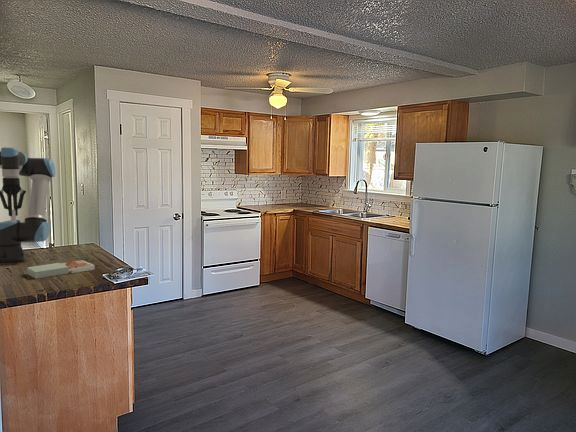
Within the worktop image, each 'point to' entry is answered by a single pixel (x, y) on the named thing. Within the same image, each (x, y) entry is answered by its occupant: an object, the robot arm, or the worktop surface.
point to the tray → (81, 268)
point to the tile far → (80, 264)
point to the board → (47, 270)
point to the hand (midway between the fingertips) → (13, 222)
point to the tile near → (71, 264)
